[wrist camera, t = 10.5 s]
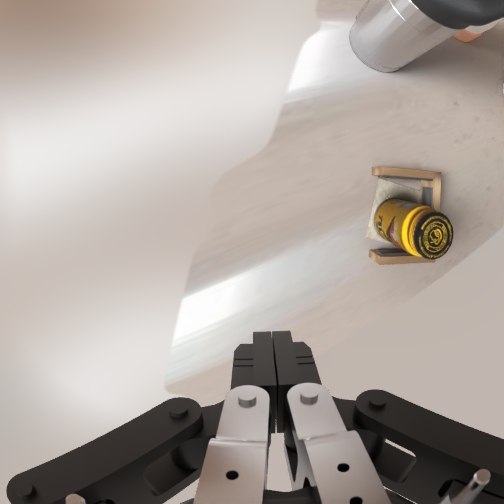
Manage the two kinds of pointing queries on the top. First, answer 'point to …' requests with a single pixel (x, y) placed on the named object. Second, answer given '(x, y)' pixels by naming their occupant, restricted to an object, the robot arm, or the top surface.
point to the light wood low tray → (428, 197)
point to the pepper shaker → (474, 31)
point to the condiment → (408, 222)
